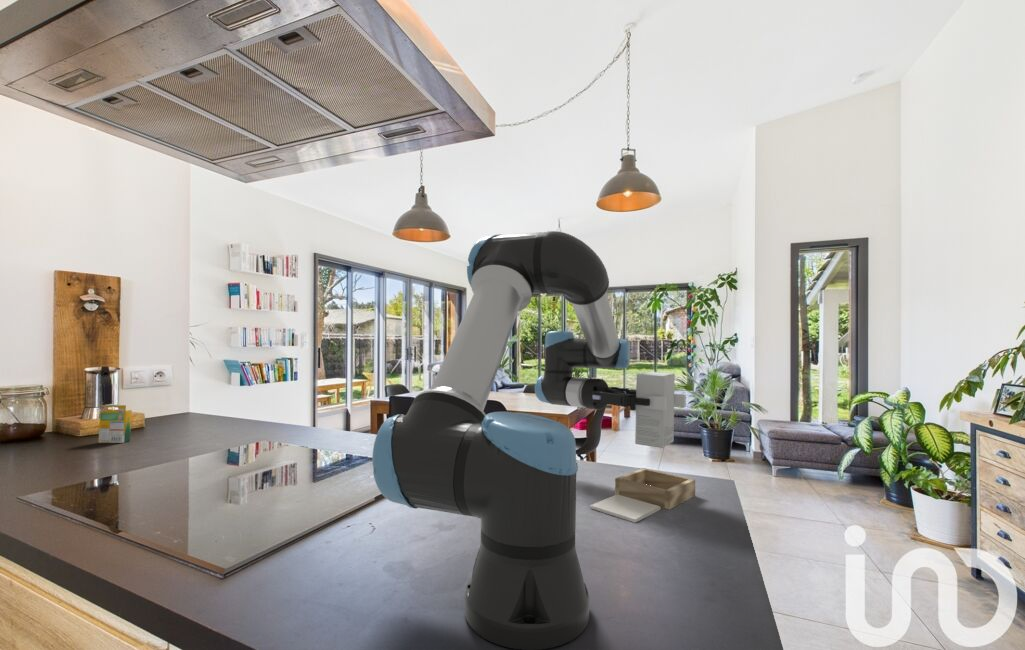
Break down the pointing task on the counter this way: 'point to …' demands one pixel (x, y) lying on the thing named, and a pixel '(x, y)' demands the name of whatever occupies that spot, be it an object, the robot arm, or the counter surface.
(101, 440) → the crayon box
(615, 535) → the counter surface
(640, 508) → the coaster
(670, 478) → the pocket
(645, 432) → the skincare box
